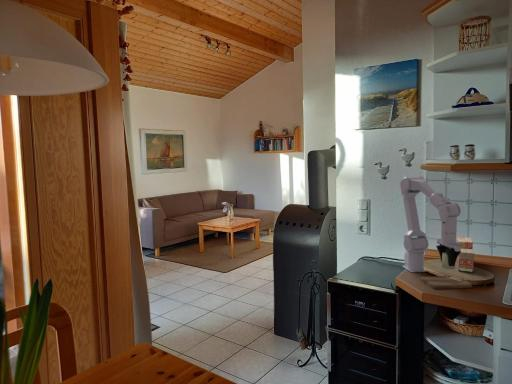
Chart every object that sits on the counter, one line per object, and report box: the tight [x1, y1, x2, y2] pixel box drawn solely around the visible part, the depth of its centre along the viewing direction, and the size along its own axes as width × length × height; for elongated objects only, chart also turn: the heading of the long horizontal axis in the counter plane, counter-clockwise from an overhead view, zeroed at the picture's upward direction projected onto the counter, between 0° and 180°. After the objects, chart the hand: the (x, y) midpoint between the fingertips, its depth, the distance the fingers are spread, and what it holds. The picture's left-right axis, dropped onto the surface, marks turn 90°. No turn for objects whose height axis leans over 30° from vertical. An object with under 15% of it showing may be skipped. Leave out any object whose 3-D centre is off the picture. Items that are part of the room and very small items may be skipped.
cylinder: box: [441, 252, 456, 270], centre depth 164 cm, size 5×5×6 cm
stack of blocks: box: [456, 236, 475, 270], centre depth 188 cm, size 21×6×12 cm, turn 155°
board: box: [419, 275, 473, 290], centre depth 165 cm, size 12×16×1 cm
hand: (447, 264), depth 164 cm, fingers closed on cylinder, 5 cm apart
